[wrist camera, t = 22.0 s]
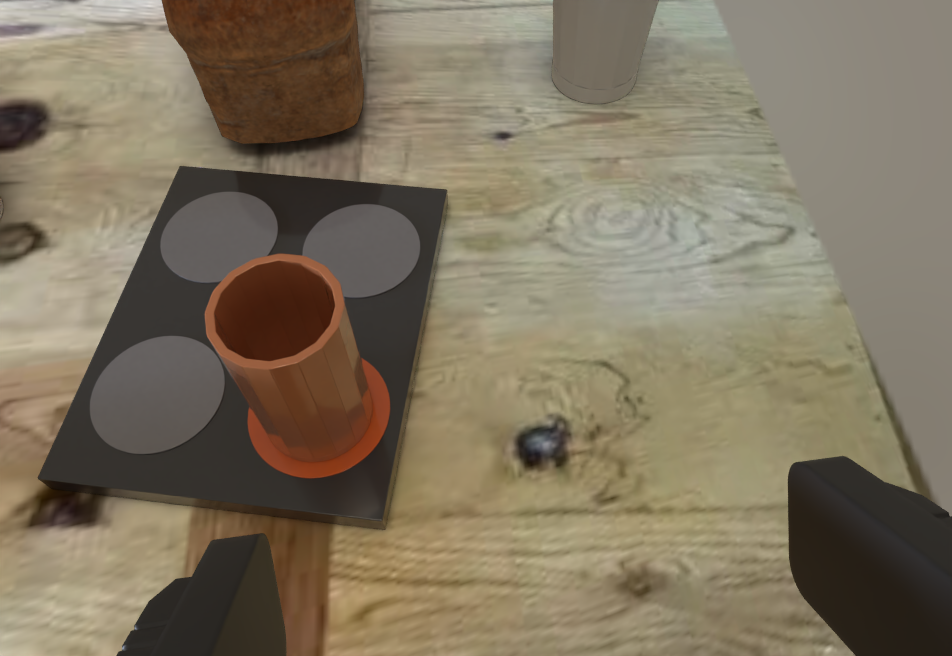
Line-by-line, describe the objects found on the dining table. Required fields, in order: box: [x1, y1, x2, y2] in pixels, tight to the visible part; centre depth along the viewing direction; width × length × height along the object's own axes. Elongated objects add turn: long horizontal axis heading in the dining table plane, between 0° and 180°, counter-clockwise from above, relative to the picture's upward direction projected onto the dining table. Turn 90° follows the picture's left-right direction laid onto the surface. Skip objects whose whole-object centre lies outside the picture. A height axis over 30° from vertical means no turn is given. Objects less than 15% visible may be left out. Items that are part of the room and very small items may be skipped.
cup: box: [552, 0, 659, 104], centre depth 52 cm, size 8×8×12 cm
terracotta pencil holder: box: [205, 253, 373, 462], centre depth 36 cm, size 6×6×10 cm
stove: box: [38, 166, 448, 530], centre depth 44 cm, size 18×22×2 cm
